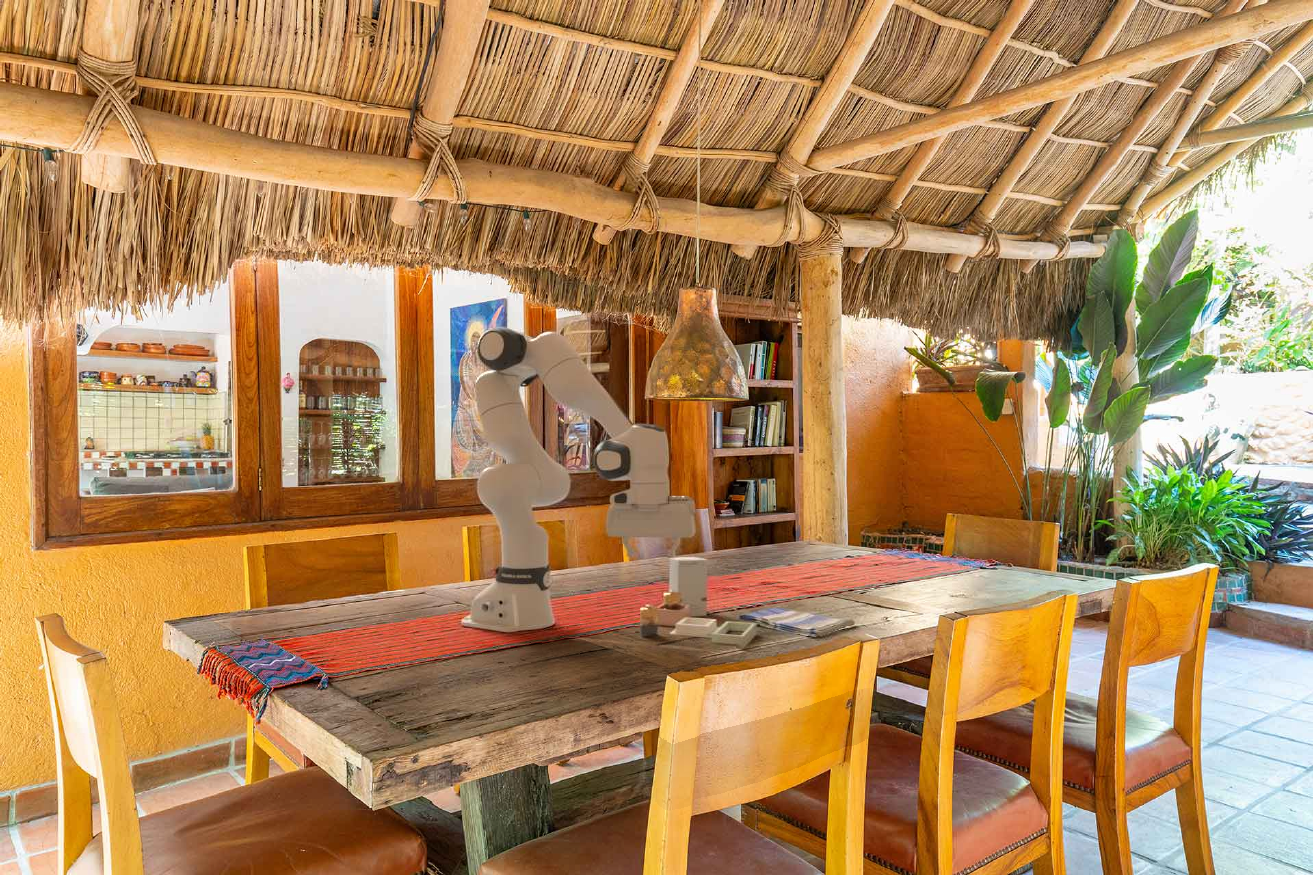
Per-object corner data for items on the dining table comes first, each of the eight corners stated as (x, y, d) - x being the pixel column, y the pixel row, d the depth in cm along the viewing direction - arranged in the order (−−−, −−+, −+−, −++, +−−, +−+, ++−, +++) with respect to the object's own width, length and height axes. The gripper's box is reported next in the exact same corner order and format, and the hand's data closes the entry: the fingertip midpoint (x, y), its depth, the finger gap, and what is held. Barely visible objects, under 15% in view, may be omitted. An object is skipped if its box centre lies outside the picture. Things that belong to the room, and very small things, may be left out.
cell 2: (661, 623, 207) (661, 591, 206) (666, 619, 210) (666, 588, 210) (677, 624, 205) (677, 592, 205) (682, 620, 209) (682, 589, 209)
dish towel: (815, 641, 195) (815, 629, 195) (735, 624, 212) (735, 612, 212) (858, 629, 207) (858, 617, 207) (779, 613, 224) (779, 602, 224)
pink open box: (653, 627, 206) (653, 609, 206) (662, 621, 212) (662, 603, 212) (681, 629, 203) (681, 611, 203) (690, 623, 210) (690, 605, 210)
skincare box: (677, 621, 213) (677, 560, 212) (667, 616, 218) (667, 557, 218) (708, 618, 216) (708, 558, 216) (697, 613, 221) (697, 555, 221)
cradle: (669, 637, 196) (669, 624, 196) (681, 628, 204) (681, 616, 204) (712, 641, 193) (712, 627, 193) (722, 631, 201) (722, 619, 201)
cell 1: (637, 640, 194) (637, 606, 193) (643, 636, 197) (643, 602, 197) (654, 641, 192) (654, 607, 192) (660, 637, 196) (660, 604, 196)
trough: (712, 645, 189) (712, 633, 189) (726, 632, 201) (726, 621, 201) (743, 648, 186) (743, 636, 186) (756, 634, 199) (756, 623, 199)
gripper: (698, 494, 195) (699, 556, 195) (612, 494, 201) (613, 554, 201) (691, 496, 189) (692, 560, 189) (603, 496, 195) (604, 558, 195)
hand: (651, 557), depth 195 cm, fingers open, 8 cm apart
